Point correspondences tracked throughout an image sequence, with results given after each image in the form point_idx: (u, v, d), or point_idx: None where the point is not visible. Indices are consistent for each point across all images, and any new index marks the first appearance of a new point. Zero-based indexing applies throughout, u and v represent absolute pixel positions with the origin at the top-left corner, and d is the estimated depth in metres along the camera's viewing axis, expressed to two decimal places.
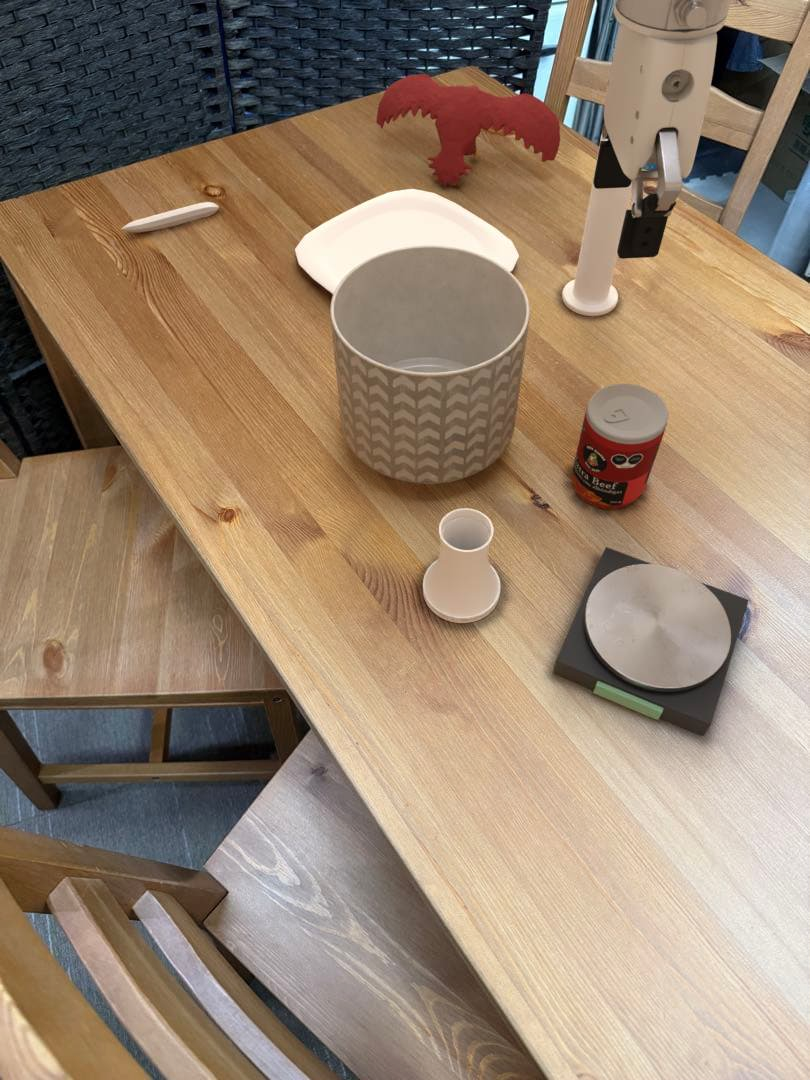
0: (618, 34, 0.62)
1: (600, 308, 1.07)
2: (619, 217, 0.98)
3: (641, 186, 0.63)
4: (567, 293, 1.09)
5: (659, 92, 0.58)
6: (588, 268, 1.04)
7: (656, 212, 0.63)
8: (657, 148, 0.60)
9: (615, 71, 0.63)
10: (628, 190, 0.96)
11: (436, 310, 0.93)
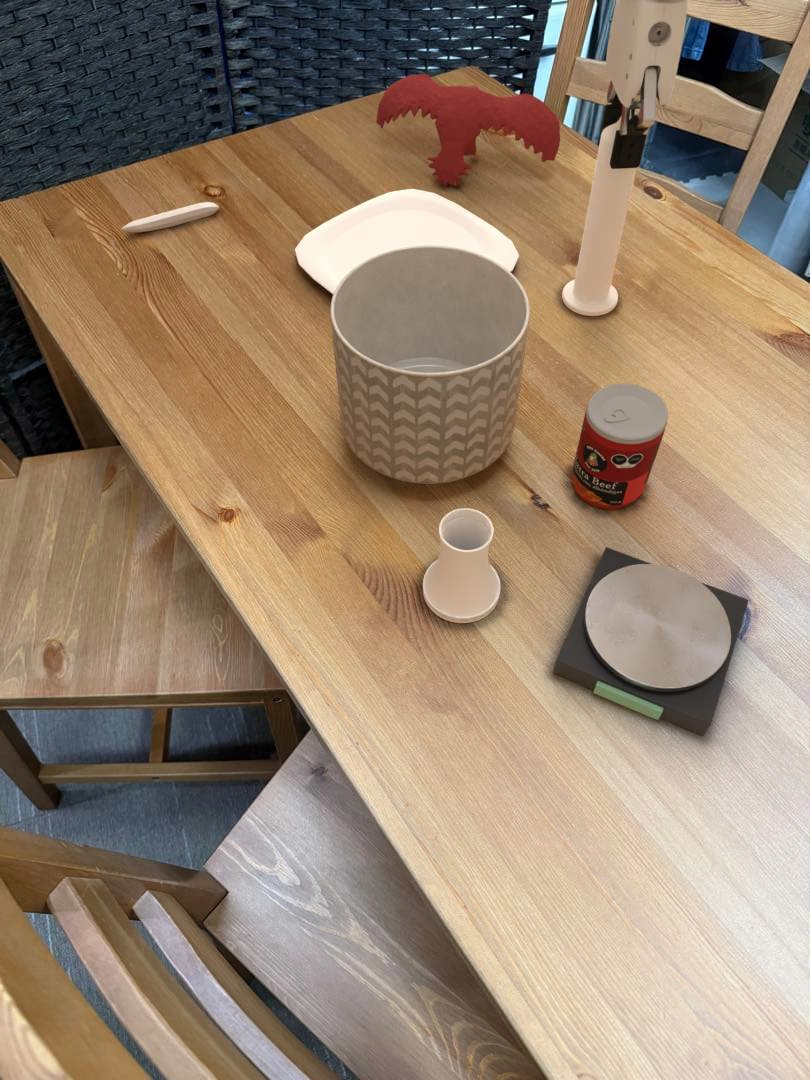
0: None
1: (600, 308, 1.07)
2: (618, 217, 0.98)
3: (628, 114, 0.87)
4: (567, 293, 1.09)
5: (646, 39, 0.80)
6: (588, 268, 1.04)
7: (637, 130, 0.87)
8: (642, 85, 0.83)
9: (614, 26, 0.85)
10: (627, 190, 0.96)
11: (436, 310, 0.93)
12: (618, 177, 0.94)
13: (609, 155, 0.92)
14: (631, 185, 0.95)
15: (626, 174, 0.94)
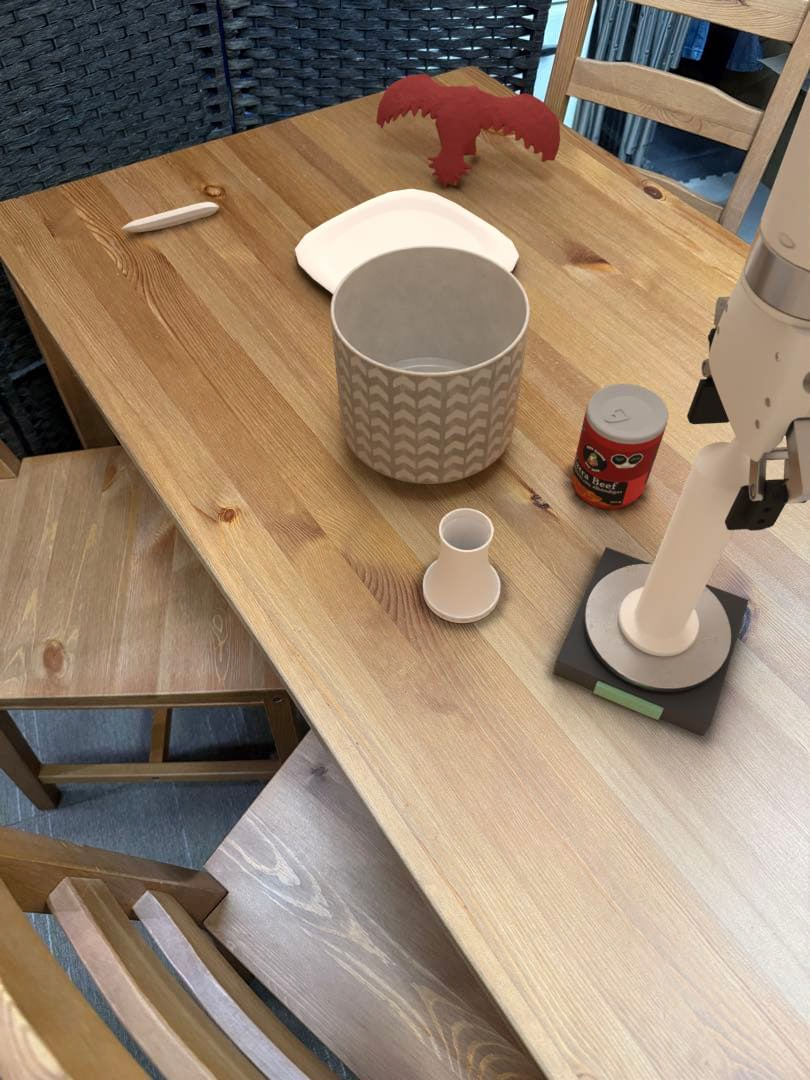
0: (737, 288, 0.52)
1: (675, 646, 0.75)
2: (713, 559, 0.66)
3: (764, 468, 0.52)
4: (626, 616, 0.77)
5: (799, 385, 0.47)
6: (661, 604, 0.71)
7: None
8: (790, 437, 0.50)
9: (733, 330, 0.52)
10: (730, 531, 0.63)
11: (436, 310, 0.93)
12: (719, 521, 0.61)
13: (707, 496, 0.60)
14: None
15: None
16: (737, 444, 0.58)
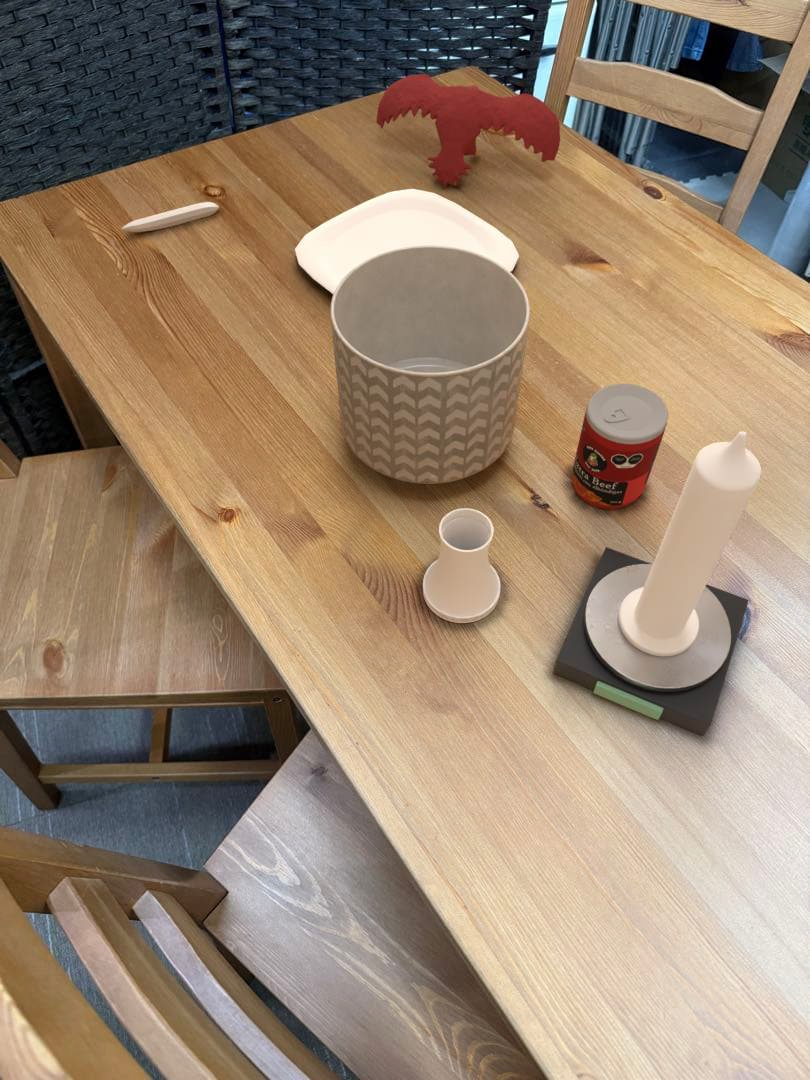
0: None
1: (675, 646, 0.75)
2: (713, 559, 0.66)
3: None
4: (626, 616, 0.77)
5: None
6: (661, 604, 0.71)
7: None
8: None
9: None
10: (730, 531, 0.63)
11: (436, 310, 0.93)
12: (719, 521, 0.61)
13: (707, 496, 0.60)
14: (736, 524, 0.63)
15: (732, 518, 0.61)
16: (737, 444, 0.58)
